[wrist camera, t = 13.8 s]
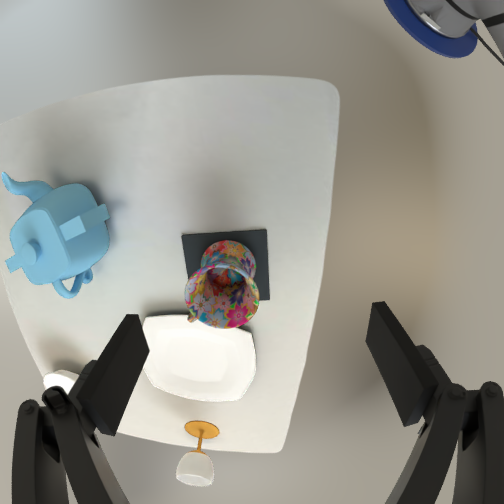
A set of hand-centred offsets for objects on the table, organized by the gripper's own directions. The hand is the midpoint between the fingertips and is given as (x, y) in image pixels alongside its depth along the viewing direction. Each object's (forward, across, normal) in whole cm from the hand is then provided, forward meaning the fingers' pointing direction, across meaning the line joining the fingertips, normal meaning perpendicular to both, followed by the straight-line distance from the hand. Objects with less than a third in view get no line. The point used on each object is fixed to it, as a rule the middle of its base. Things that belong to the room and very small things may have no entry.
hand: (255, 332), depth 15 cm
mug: (+28, -6, -9) cm, 30 cm away
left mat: (+29, -5, -9) cm, 30 cm away
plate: (+29, -13, -28) cm, 42 cm away
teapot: (+29, -31, +2) cm, 42 cm away
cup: (+29, -17, -55) cm, 64 cm away
